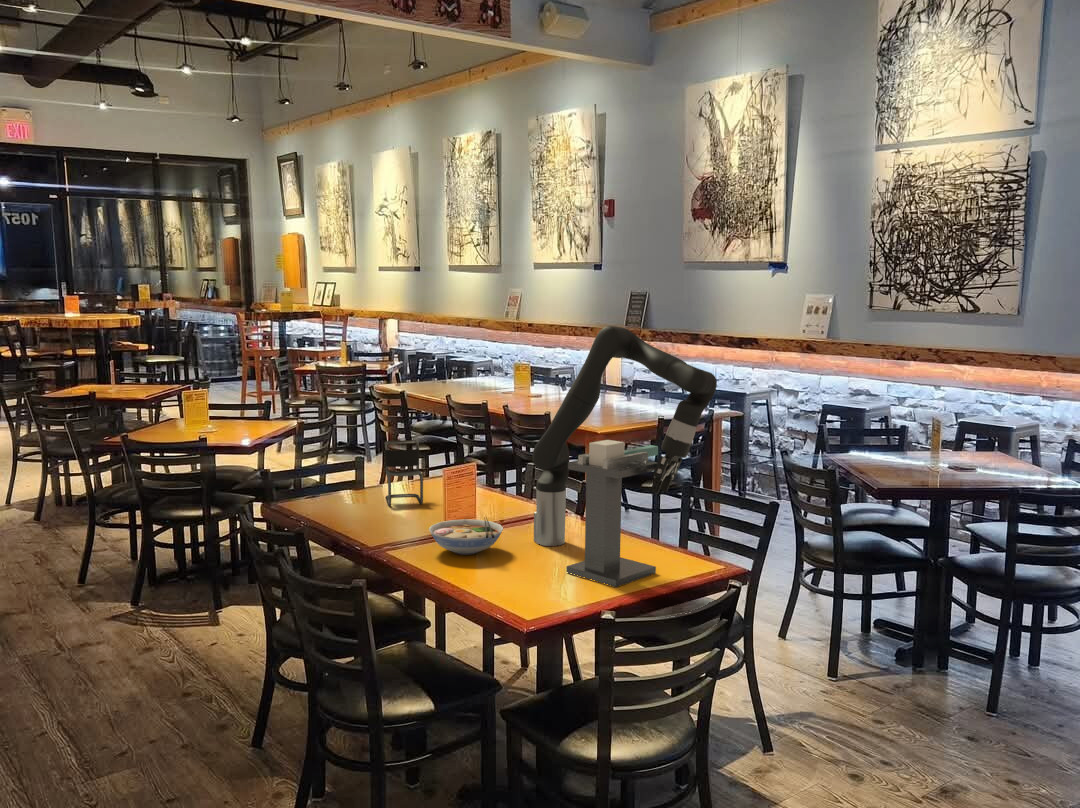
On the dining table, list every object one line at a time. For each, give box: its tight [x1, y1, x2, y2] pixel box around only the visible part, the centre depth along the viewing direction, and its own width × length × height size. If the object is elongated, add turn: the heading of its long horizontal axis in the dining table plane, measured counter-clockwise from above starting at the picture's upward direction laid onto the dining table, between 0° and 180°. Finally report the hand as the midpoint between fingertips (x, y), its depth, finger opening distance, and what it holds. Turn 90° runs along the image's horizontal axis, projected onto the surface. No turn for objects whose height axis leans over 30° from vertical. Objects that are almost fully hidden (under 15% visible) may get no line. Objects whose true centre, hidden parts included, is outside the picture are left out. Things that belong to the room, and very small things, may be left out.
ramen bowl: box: [428, 516, 504, 556], centre depth 280 cm, size 25×23×8 cm
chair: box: [384, 439, 424, 507], centre depth 346 cm, size 13×17×22 cm
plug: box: [588, 439, 659, 467], centre depth 261 cm, size 6×26×6 cm, turn 136°
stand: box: [566, 452, 658, 588], centre depth 259 cm, size 18×18×34 cm
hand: (658, 491), depth 257 cm, fingers open, 8 cm apart
